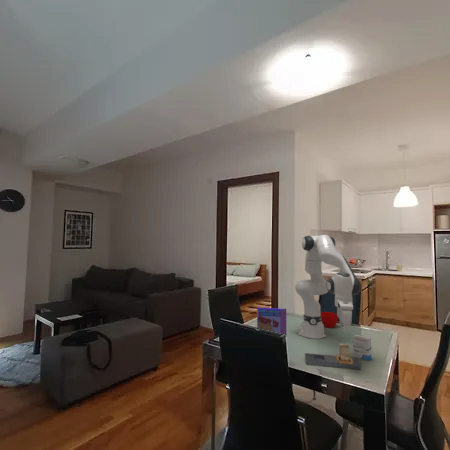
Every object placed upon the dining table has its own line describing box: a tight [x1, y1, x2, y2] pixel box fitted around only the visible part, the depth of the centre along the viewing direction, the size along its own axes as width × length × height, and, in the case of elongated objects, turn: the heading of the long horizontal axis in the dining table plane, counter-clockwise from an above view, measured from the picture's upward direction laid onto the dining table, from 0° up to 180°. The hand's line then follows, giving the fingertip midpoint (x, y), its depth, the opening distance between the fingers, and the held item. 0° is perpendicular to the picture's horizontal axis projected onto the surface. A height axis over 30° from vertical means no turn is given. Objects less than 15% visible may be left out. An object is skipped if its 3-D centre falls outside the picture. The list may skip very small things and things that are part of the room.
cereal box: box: [256, 307, 287, 336], centre depth 179 cm, size 17×5×24 cm, turn 82°
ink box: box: [352, 334, 373, 362], centre depth 167 cm, size 9×5×12 cm, turn 45°
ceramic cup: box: [321, 311, 340, 329], centre depth 231 cm, size 13×17×10 cm
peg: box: [339, 343, 350, 361], centre depth 157 cm, size 4×4×10 cm
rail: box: [304, 353, 362, 371], centre depth 158 cm, size 10×27×3 cm, turn 79°
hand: (343, 329), depth 158 cm, fingers open, 8 cm apart
